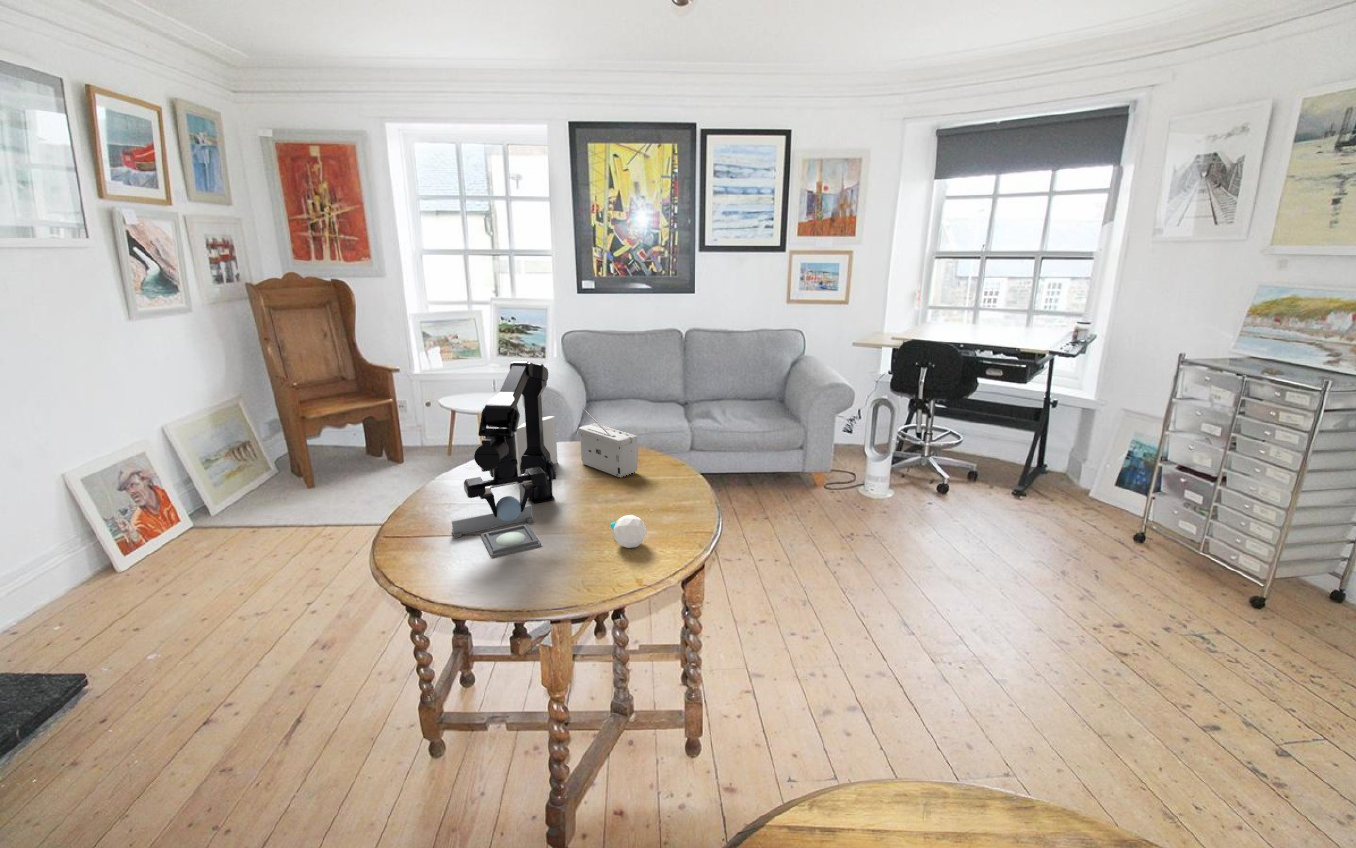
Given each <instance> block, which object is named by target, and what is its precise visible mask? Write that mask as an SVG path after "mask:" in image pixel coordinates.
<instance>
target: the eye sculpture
mask: <svg viewBox="0 0 1356 848" xmlns="http://www.w3.org/2000/svg"><path fill="white" fill-rule="evenodd" d="M542 419H543V439H544V446H545V447H546V449H547V450H548V451H549V453H550V458H551V461H552V462H553V464H554V465H555V464H557V463H558V461H559V460H558V446H557V445H558V443H557V426H556V424H557V423H556V416H553V415H552V416H551V415H548V416H544V417H543V416H542ZM515 443H516V456H517V462H518V464H517V470H518V475H521V470H520V464H521V457H522V455H523V454H524V452H525V451H526V449H527V440H526V423H525V422H524V423H521V425H518V427H517V432H515Z"/></svg>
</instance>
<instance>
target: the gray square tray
mask: <svg viewBox="0 0 1356 848" xmlns="http://www.w3.org/2000/svg"><path fill="white" fill-rule="evenodd" d="M480 537H481V538H482V541H483V543H484V545H485V548H486V550H487V552H488V553H489V556H490V558H495V557H496V558H497V557H501V556H505V555H508V554H513V553H517V552H522V551H526V550H530V549H534V548H539V547H542V542H541V541H540V539H539V538H538V536H537V534H535V532H534V531H533V529H532V528H531V526H530V525H529V523H528V524H527V523H524V524H520V525H516V526H509V527H506V528H501V529H496V530H492V531H487V532H484V533H481V534H480Z"/></svg>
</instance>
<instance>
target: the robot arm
mask: <svg viewBox="0 0 1356 848" xmlns="http://www.w3.org/2000/svg"><path fill="white" fill-rule="evenodd" d="M548 379H549V370H548V368H547V367H545V365H544V364H543V363H533V362H530V361H525V360H521V361H520V360H519V361H518V360H515V361H512V362H510V364H509V371H508V374H507V375H506V377H505V380H504V382H503V383H502V386H501V388H500V391H499V392H498V394H496V395H495V396H492V397H491V398H489V400H488V401H487V403H486V404H485V405H484V407H483V408H482V411H481V417H480V422H479V428H478V429H479V430H478V433H477V436H478V437H484V438H483V439H481V445H480V446H479V447H477V448H476V450H475V452H474V455H473V458H474V462H475V463H476V465H477V466H478V467H479V468H481V472H482V473H483V472H489V474H490V478H492V479H489V480H488V479H487V480H483V479H482V477H481V476H477V477H472V478H466V479H465V480H464V481H463V489H464V493H466V496H467V498H468V499H473V498H480V500H486V502H487V504H488V505H489V508H490V509H491V512H493V514H494V516H495V518H496V517H497V511H496V500H495V496H494V493H493V492H492V489H494V488H499V487H505V486H511V485H516V484H518V485H519V502H520V505H521V512H523V510H524V508H525V505H527V502H528V500H529V501H530V502H531V503H532V504H539V503H544V502H549V501H553V500H555V497H554V495H553V481H554V480H557V469H556V466H555V464H553V462H552V461H551V458H550V453H549V451H548V450H547V449H546V447H545V446H544V439H543V419H542V418H543V406H542V405H543V404H542V403H543V402H542V394H543V392H544V391H545V389H546V388H547V385H548ZM521 396H522V397H523V403H524V420H525V422H524V423H526V440H527V449H526V451H525V452H524V454H523V455H522V457H521V464H520V470H521V475H518V470H517V464H518V462H517V456H516V443H515V432H517V428H518V427H519V421H520V419H521V418H520V417H521V413H520V411H519V408H518V403H519V400H520V398H521Z"/></svg>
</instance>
